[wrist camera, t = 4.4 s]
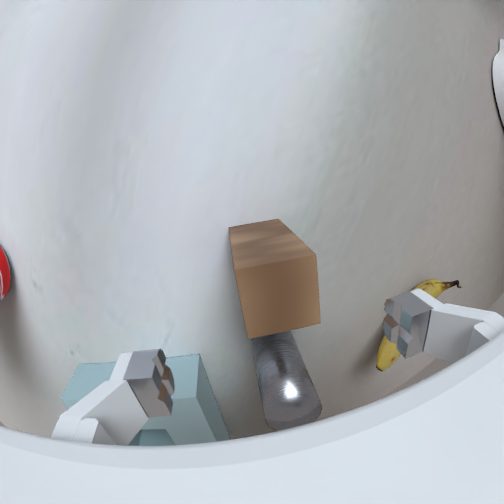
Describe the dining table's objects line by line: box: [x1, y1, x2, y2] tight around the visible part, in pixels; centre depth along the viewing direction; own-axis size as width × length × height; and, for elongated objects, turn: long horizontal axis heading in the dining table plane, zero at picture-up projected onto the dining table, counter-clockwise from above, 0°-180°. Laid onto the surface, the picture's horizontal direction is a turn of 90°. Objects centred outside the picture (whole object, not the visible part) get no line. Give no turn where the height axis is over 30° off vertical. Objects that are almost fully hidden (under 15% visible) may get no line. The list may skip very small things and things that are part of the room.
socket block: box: [60, 354, 230, 446], centre depth 21 cm, size 12×12×5 cm
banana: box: [376, 279, 461, 371], centre depth 21 cm, size 10×2×4 cm, turn 137°
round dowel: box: [251, 331, 322, 431], centre depth 18 cm, size 3×3×8 cm
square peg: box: [229, 219, 320, 339], centre depth 16 cm, size 3×3×8 cm
